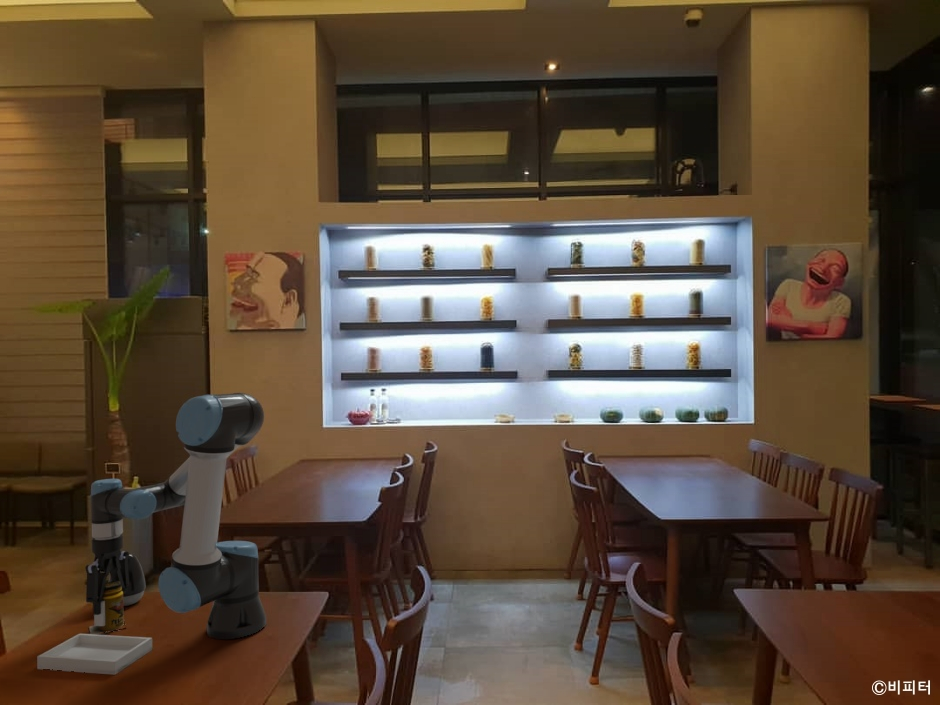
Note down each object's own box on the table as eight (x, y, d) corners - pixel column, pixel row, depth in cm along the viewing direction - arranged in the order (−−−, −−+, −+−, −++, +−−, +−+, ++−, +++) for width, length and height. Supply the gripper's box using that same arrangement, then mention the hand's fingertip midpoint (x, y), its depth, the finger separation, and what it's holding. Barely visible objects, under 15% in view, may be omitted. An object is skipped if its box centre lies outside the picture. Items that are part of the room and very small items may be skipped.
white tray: (152, 649, 163) (152, 637, 163) (115, 674, 150) (115, 661, 150) (79, 645, 167) (79, 633, 167) (37, 669, 154) (37, 656, 154)
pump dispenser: (100, 605, 194) (99, 555, 194) (133, 594, 203) (132, 546, 203) (119, 612, 189) (118, 560, 189) (152, 600, 198) (151, 550, 198)
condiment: (126, 628, 177) (125, 584, 177) (90, 636, 172) (89, 591, 172) (123, 620, 183) (123, 577, 183) (89, 627, 178) (88, 584, 178)
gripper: (120, 526, 188) (121, 606, 188) (68, 545, 169) (69, 634, 169) (142, 527, 187) (144, 607, 187) (93, 546, 168) (95, 635, 168)
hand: (109, 620), depth 178 cm, fingers closed on condiment, 6 cm apart
